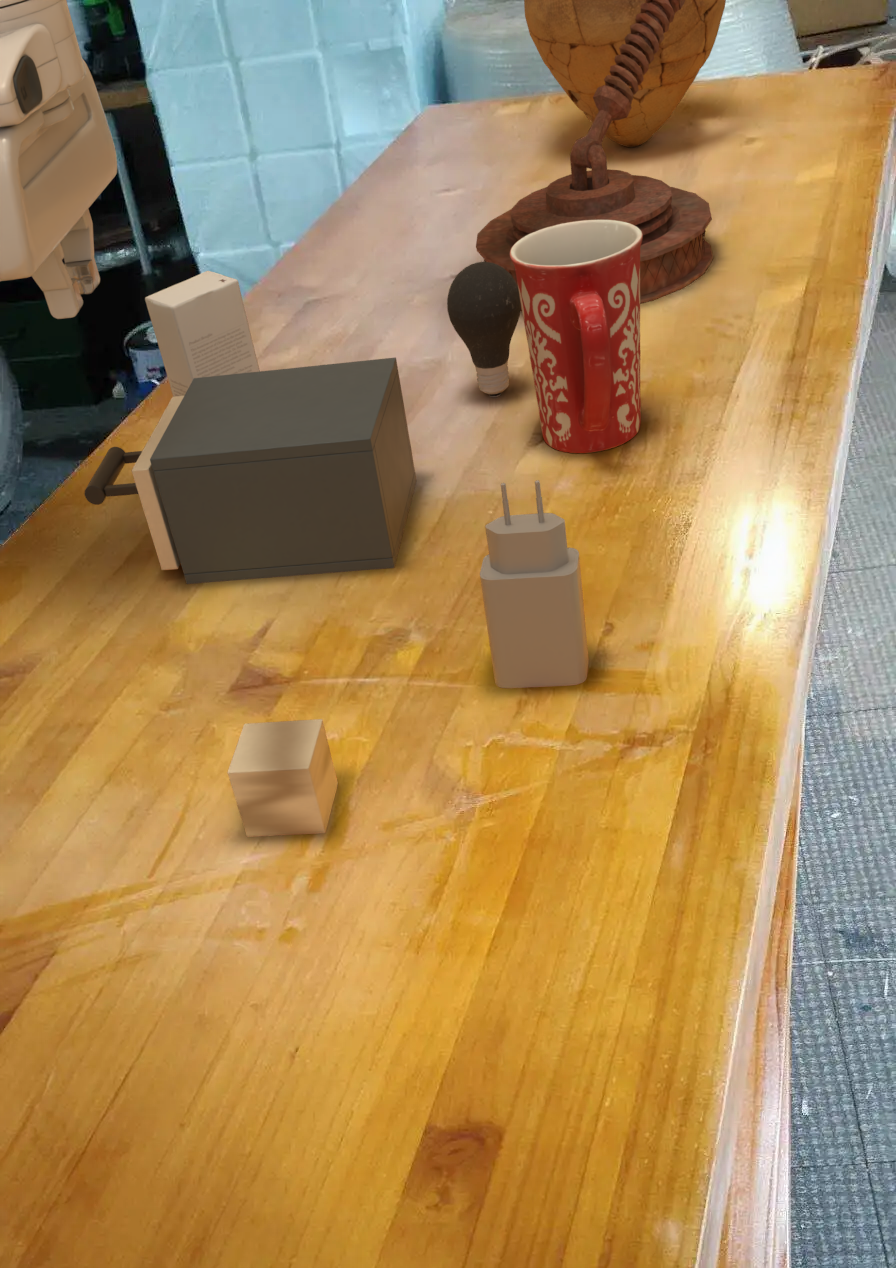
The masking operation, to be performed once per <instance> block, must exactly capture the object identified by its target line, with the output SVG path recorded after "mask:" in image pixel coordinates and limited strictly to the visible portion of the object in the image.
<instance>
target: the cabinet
mask: <svg viewBox="0 0 896 1268" xmlns="http://www.w3.org/2000/svg"><path fill="white" fill-rule="evenodd" d="M398 368H399V367H398V362H397V357H385V358H376V359H367V360H357V361H348V362H347V361H346V362H338V363H329V364H319V365H309V366H300V367H299V366H298V367H290V368H289V367H288V368H281V369H270V370H260V372H250V373H240V374H231V375H221V376H211V377H202V378H194V379H193V381H192V383H191V384H190V386H189V388H188V390H187V392H186V394H185V395H184V397H183V399H182V401H181V403H180V405H179V407H178V408H177V410H176V412H175V414H174V416H173V418H172V419H171V421H170V423H169V425H168V427H167V429H166V430H165V432H164V434H163V436H162V438H161V440H160V442H159V443H158V445H157V447H156V449H155V451H154V453H153V454H152V456H151V458H150V462H151V465H152V469H153V471H154V475H155V478H156V481H157V485H158V488H159V492H160V495H161V498H162V502H163V505H164V509H165V512H166V515H167V519H168V522H169V525H170V529H171V532H172V536H173V539H174V542H175V546H176V549H177V552H178V556H179V559H180V566H181V569H182V572H183V577H184V580H185V583H186V585H192V584H205V583H219V582H232V581H233V582H234V581H246V580H259V579H268V578H269V579H272V578H282V577H283V578H284V577H294V576H295V577H296V576H307V575H308V576H309V575H321V574H322V575H323V574H334V573H336V574H337V573H347V572H348V573H349V572H360V571H373V570H384V569H385V570H386V569H394V568H396V563H397V559H398V556H399V551H400V549H401V548H400V547H401V544H402V540H403V535H404V532H405V528H406V523H407V521H408V520H407V519H408V516H409V512H410V508H411V504H412V501H413V496H414V493H415V488H416V485H417V476H416V475H417V474H416V470H415V469H416V468H415V463H414V456H413V452H412V451H413V450H412V445H411V439H410V434H409V433H410V432H409V427H408V421H407V415H406V408H405V403H404V397H403V390H402V385H401V379H400V374H399V373H400V372H399V369H398Z"/></svg>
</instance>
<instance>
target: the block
mask: <svg viewBox="0 0 896 1268" xmlns="http://www.w3.org/2000/svg"><path fill="white" fill-rule="evenodd" d="M227 777H228V780H229V783H230V787H231V789H232V792H233V797H234V800H235V803H236V805H237V809H238V811H239V812H238V813H239V816H240V818H241V822H242V825H243V828H244V833H245V836H246V837H247V838H249V837H253V838H254V837H271V836H274V837H275V836H292V835H293V836H295V835H296V836H297V835H315V834H316V835H317V834H326V832H327V828H328V825H329V820H330V817H331V813H332V809H333V806H334V801H335V798H336V793H337V789H338V785H339V782H338V778H337V773H336V770H335V765H334V761H333V756H332V753H331V748H330V744H329V740H328V737H327V732H326V728H325V723H324V719H323V718H317V719H316V718H315V719H314V718H313V719H299V720H283V721H266V722H250V723H243V726H242V729H241V732H240V734H239V738H238V741H237V743H236V746H235V749H234V752H233V755H232V758H231V761H230V764H229V767H228V770H227Z"/></svg>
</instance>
